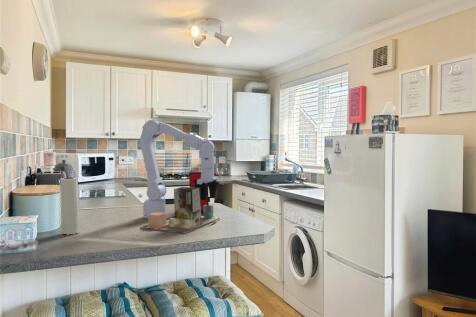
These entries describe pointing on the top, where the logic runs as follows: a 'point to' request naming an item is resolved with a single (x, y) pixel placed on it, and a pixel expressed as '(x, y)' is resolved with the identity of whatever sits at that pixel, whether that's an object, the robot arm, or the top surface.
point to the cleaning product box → (193, 178)
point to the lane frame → (175, 231)
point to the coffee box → (188, 204)
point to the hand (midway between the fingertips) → (208, 198)
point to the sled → (191, 223)
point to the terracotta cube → (156, 220)
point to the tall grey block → (69, 205)
